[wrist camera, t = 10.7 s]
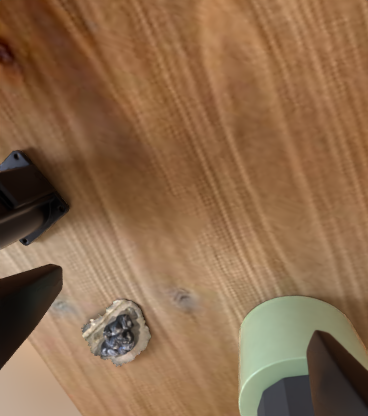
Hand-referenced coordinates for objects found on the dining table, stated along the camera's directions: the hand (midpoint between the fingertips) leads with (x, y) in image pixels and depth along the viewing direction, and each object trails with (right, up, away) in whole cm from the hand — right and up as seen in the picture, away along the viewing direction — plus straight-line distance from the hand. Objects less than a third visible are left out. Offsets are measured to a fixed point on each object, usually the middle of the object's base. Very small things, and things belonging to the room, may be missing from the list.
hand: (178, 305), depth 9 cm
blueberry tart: (-6, -9, +17) cm, 20 cm away
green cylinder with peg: (+10, -8, +13) cm, 19 cm away
